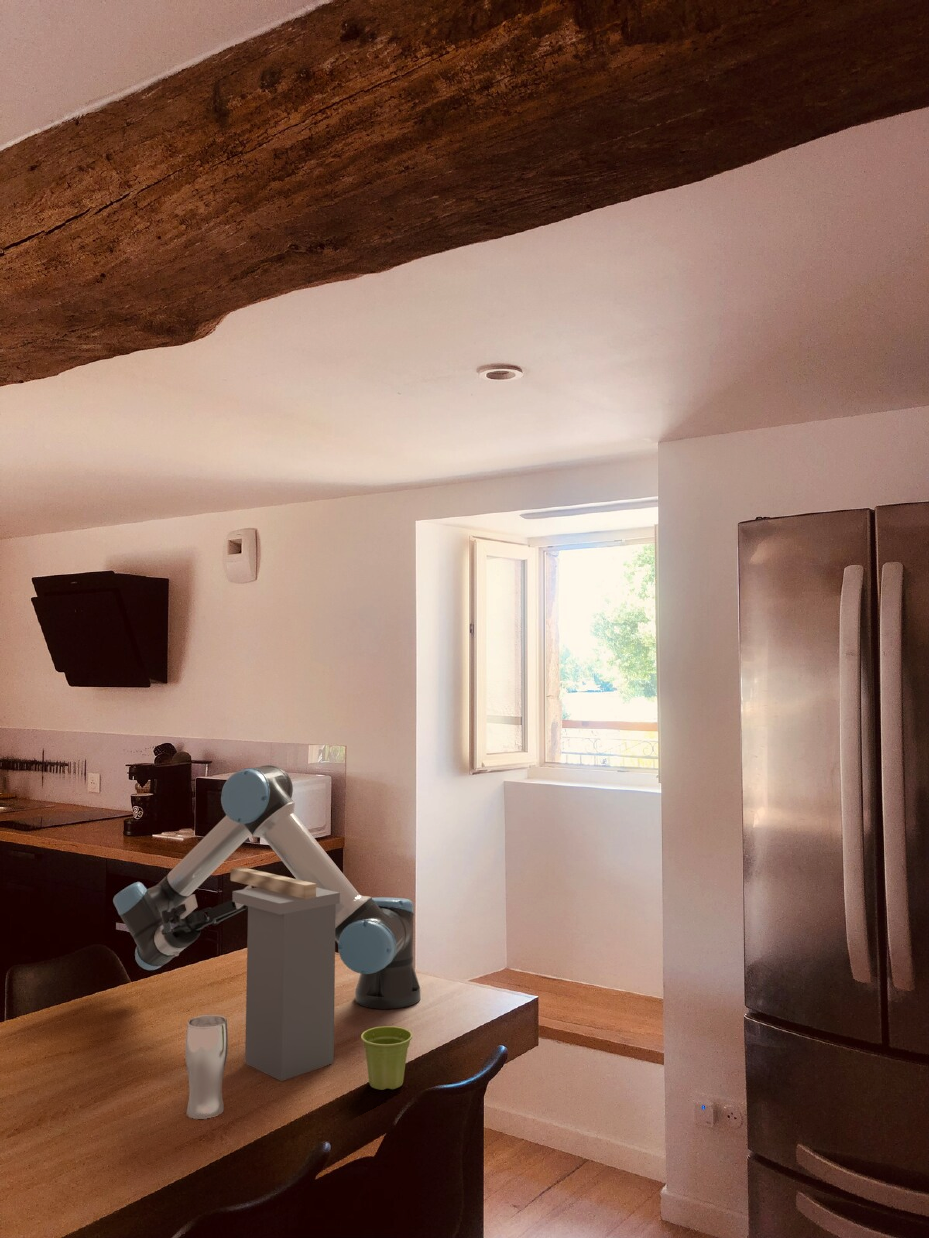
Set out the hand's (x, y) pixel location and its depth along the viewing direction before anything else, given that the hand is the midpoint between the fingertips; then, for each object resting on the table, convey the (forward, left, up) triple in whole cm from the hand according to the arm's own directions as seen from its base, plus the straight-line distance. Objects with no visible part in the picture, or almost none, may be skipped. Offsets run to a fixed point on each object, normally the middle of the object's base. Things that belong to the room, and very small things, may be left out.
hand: (223, 895), depth 204 cm
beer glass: (+10, +38, -28) cm, 49 cm away
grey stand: (-8, +21, -28) cm, 36 cm away
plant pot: (-22, +40, -28) cm, 54 cm away
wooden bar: (-6, +16, +4) cm, 18 cm away
